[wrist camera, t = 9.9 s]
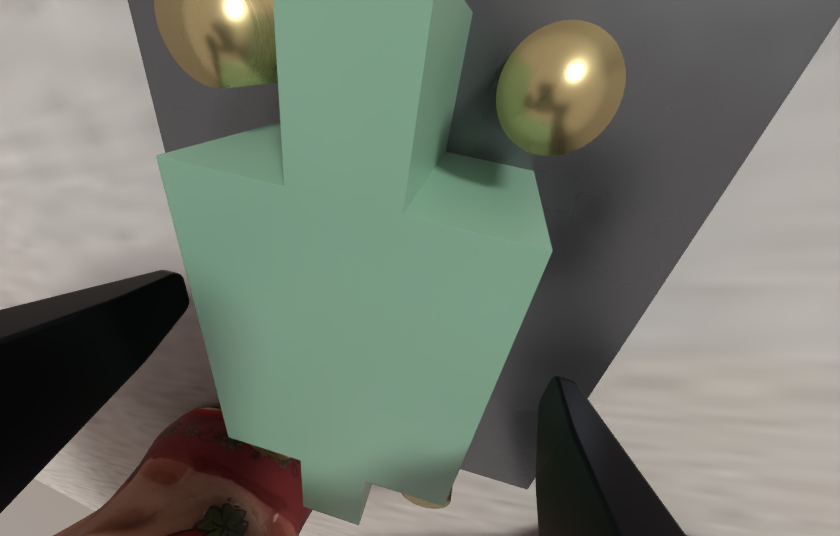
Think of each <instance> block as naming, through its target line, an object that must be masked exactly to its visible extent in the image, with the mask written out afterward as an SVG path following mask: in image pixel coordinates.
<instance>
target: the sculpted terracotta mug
mask: <svg viewBox="0 0 840 536" xmlns="http://www.w3.org/2000/svg"><path fill="white" fill-rule="evenodd" d="M311 512H312V509H309V508H306V507H303V492H302V475H301V460H298V459H295V458H292V457H290V458H289V459H286V460H277V459H273V458H270V457H267V456H265V455H263V454H261V453H260V452H258V451H257V450H255V449H254V448H253V447H252V446H251V445H250V444H248V443H245V442H242V441H239V440H236V439H233V438H230V437H228V433H227V429H226V425H225V421H224V418H223V414H222V410H221V409H218V408H211V407H204V408H198V409H195V410H192V411H190V412H188V413H186V414H185V415H183V416H182V417H180V418H179V419H178V420H176V421H175V422H174V423H172V424H171V425H170V426H169V427H167V428H166V429H165V430H164V431H163V432H162V433H161V434H160V435H159V436H158V437H157V438H156V440H155V441H154V443H153V444H152V446H151V447H150V449H149V450H148V452H147V453H146V455H145V457H144V458H143V460H142V461H141V463H140V464H139V466H138V467H137V468H136V469H135V471H134V472H133V473H132V474H131V475H130V477H129V478H128V479H127V480H126V481H125V483H124V484H123V485H122V486H121V487H120V488H119V490H118V491H117V492H116V493H115V494H114V495H113V497H112V498H111V499H110V500H109V501H108V502H107V503H106V504H104V505H103V506H102V507H101V508H100V509H98V510H97V511H95V512H94V513H92V514H90V515H89V516H87V517H85V518H84V519H82V520H80V521H78V522H77V523H75V524H73V525H72V526H70V527H68V528H66V529H64V530H63V531H61V532H59V533H57V534H56V535H53V536H299V533H300V531H301V529H302V527H303V525H304V524H305V522H306V520H307V518H308V517H309V515H310V513H311Z"/></svg>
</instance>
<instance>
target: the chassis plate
mask: <svg viewBox="0 0 840 536" xmlns="http://www.w3.org/2000/svg"><path fill="white" fill-rule="evenodd" d="M464 1H465V2H466V3H467V5H468V6H469V8H470V9H471V10H472V12H473V14H472V19H471V24H470V29H469V35H468V40H467V45H466V50H465V55H464V60H463V65H462V71H461V76H460V81H459V86H458V91H457V96H456V101H455V107H454V112H453V117H452V122H451V127H450V132H449V137H448V142H447V148H446V152H449V153H454V154H458V155H463V156H468V157H472V158H477V159H481V160H486V161H490V162H495V163H500V164H504V165H509V166H513V167H518V168H522V169H527V170H532V171H534V174H535V179H536V183H537V187H538V191H539V196H540V200H541V204H542V208H543V212H544V217H545V221H546V225H547V229H548V234H549V238H550V242H551V246H552V250H553V251H552V253H551V256H550V258H549V260H548V263H547V265H546V267H545V270H544V272H543V274H542V277H541V279H540V281H539V284H538V286H537V289H536V291H535V293H534V296H533V298H532V300H531V303H530V305H529V307H528V310H527V312H526V314H525V317H524V319H523V321H522V324H521V326H520V328H519V331H518V333H517V335H516V338H515V340H514V342H513V345H512V347H511V349H510V352H509V354H508V357H507V359H506V361H505V364H504V366H503V368H502V371H501V373H500V375H499V378H498V380H497V382H496V385H495V387H494V389H493V392H492V394H491V396H490V399H489V401H488V403H487V406H486V408H485V410H484V413H483V415H482V417H481V420H480V422H479V425H478V427H477V429H476V432H475V434H474V436H473V439H472V441H471V443H470V446H469V448H468V450H467V453H466V455H465V457H464V460H463V462H462V464H461V467H460V469H462V470H466V471H469V472H472V473H475V474H479V475H482V476H485V477H488V478H492V479H495V480H498V481H501V482H505V483H508V484H511V485H514V486H518V487H521V488H524V489H528V488H529V486H530V485H531V483H532V482H533V480H534V479H535V477H536V449H537V425H538V406H539V401H540V399H541V396H542V395H543V393H544V391H545V389H546V387H547V385H548V384H549V382H550V380H551V378H552V377H553V376H560V377H564V378H568V379H571V380H573V381H574V382H575V383H576V384H577V385H578V387H579V388H580V389H581V391H582V392H583V394H584V395H585V396H586V398H588V397H589V395H590V394H591V392H592V391H593V389H594V388H595V386H596V385H597V383H598V382H599V380H600V379H601V377H602V376H603V374H604V373H605V371H606V370H607V368H608V367H609V365H610V364H611V362H612V360H613V359H614V357H615V356H616V354H617V353H618V351H619V350H620V348H621V347H622V345H623V344H624V342H625V341H626V339H627V338H628V336H629V335H630V333H631V332H632V330H633V329H634V327H635V326H636V324H637V323H638V321H639V320H640V318H641V317H642V315H643V314H644V312H645V311H646V309H647V308H648V306H649V305H650V303H651V301H652V300H653V298H654V297H655V295H656V294H657V292H658V291H659V289H660V288H661V286H662V285H663V283H664V282H665V280H666V279H667V277H668V276H669V274H670V273H671V271H672V270H673V268H674V267H675V265H676V264H677V262H678V261H679V259H680V258H681V256H682V255H683V253H684V252H685V250H686V249H687V247H688V245H689V244H690V242H691V241H692V239H693V238H694V236H695V235H696V233H697V232H698V230H699V229H700V227H701V226H702V224H703V223H704V221H705V220H706V218H707V217H708V215H709V214H710V212H711V211H712V209H713V208H714V206H715V205H716V203H717V202H718V200H719V199H720V197H721V196H722V194H723V193H724V191H725V190H726V188H727V186H728V185H729V183H730V182H731V180H732V179H733V177H734V176H735V174H736V173H737V171H738V170H739V168H740V167H741V165H742V164H743V162H744V161H745V159H746V158H747V156H748V155H749V153H750V152H751V150H752V149H753V147H754V146H755V144H756V143H757V141H758V140H759V138H760V137H761V135H762V134H763V132H764V130H765V129H766V127H767V126H768V124H769V123H770V121H771V120H772V118H773V117H774V115H775V114H776V112H777V111H778V109H779V108H780V106H781V105H782V103H783V102H784V100H785V99H786V97H787V96H788V94H789V93H790V91H791V90H792V88H793V87H794V85H795V84H796V82H797V81H798V79H799V78H800V76H801V75H802V73H803V71H804V70H805V68H806V67H807V65H808V64H809V62H810V61H811V59H812V58H813V56H814V55H815V53H816V52H817V50H818V49H819V47H820V46H821V44H822V43H823V41H824V40H825V38H826V37H827V35H828V34H829V32H830V31H831V29H832V28H833V26H834V25H835V23H836V22H837V20H838V19H839V17H840V0H464ZM128 3H129V7H130V11H131V15H132V19H133V23H134V27H135V31H136V35H137V40H138V44H139V48H140V52H141V56H142V60H143V64H144V68H145V72H146V76H147V80H148V84H149V88H150V92H151V96H152V100H153V104H154V108H155V112H156V116H157V120H158V125H159V129H160V133H161V137H162V141H163V145H164V149H165V153H167V152H171V151H175V150H178V149H182V148H186V147H189V146H193V145H197V144H201V143H204V142H208V141H212V140H215V139H219V138H223V137H227V136H230V135H234V134H238V133H241V132H245V131H249V130H253V129H256V128H260V127H264V126H267V125H271V124H275V123H278V122H280V108H279V91H278V74H277V58H276V41H275V24H274V8H273V0H128ZM250 445H251V444H250ZM251 446H252V447H253V448H254V449H255V450H257V451H258V452H260V453H261V454H263V455H265V456H267V457H270V458H273V459H277V460H286V459H289V458H290V457H289V456H285V455H282V454H279V453H276V452H273V451H270V450H267V449H264V448H261V447H258V446H254V445H251ZM451 493H452V488H451V490H450V493H449V495H448V497H447V500H446V502H445V504H444V507H446V506H447V505H449V503H450V501H451ZM402 495H403V496H404V497H405V498H406V499H408V500H409V501H411V502H412V503H414V504H416V505H419V506H422V507H426V508H433V509H437V508H443V506H440V505H437V504H434V503H431V502H428V501H425V500H422V499H419V498H416V497H412V496H409V495H406V494H403V493H402Z"/></svg>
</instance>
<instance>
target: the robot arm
mask: <svg viewBox="0 0 840 536" xmlns="http://www.w3.org/2000/svg"><path fill="white" fill-rule="evenodd" d="M188 306H189V297H188V293H187V290H186V286H185V282H184V279H183V277H182V276H181V275H180V274H178V273H175V272H171V271H167V270H160V271H156V272H152V273H148V274H143V275H139V276H135V277H131V278H127V279H123V280H119V281H115V282H111V283H107V284H103V285H99V286H95V287H91V288H87V289H83V290H79V291H75V292H71V293H67V294H63V295H59V296H55V297H51V298H47V299H43V300H39V301H35V302H30V303H26V304H22V305H18V306H14V307H10V308H6V309H2V310H0V513H1V512H2V511H3V510H4V509H5V508H6V507H7V506H8V505H9V504H10V503H11V502H12V500H13V499H14V498H15V497H16V496H17V495H18V494H19V493H20V492H21V491H22V490H23V489H24V488H25V487H26V486H27V485H28V484H29V483H30V482H31V481H32V480H33V479H34V478H35V476H36V475H37V474H38V473H39V472H40V471H41V470H42V469H43V468H44V467H45V466H46V465H47V464H48V463H49V462H50V461H51V460H52V459H53V458H54V457H55V456H56V454H57V453H58V452H59V451H60V450H61V449H62V448H63V447H64V446H65V445H66V444H67V443H68V442H69V441H70V440H71V439H72V438H73V437H74V436H75V435H76V434H77V433H78V431H79V430H80V429H81V428H82V427H83V426H84V425H85V424H86V423H87V422H88V421H89V420H90V419H91V418H92V417H93V416H94V415H95V414H96V413H97V412H98V411H99V409H100V408H101V407H102V406H103V405H104V404H105V403H106V402H107V401H108V400H109V399H110V398H111V397H112V396H113V395H114V394H115V393H116V392H117V391H118V390H119V389H120V387H121V386H122V385H123V384H124V383H125V382H126V381H127V380H128V379H129V378H130V377H131V376H132V375H133V374H134V373H135V372H136V371H137V370H138V369H139V367H140V366H141V365H142V364H143V363H144V362H145V361H146V360H147V359H148V357H149V356H150V355H151V354H152V353H153V351H154V350H155V349H156V348H157V346H158V345H159V344H160V343H161V341H162V340H163V339H164V337H165V336H166V335H167V334H168V332H169V331H170V330H171V329H172V327H173V326H174V325H175V324H176V322H177V321H178V320H179V319H180V317H181V316H182V315H183V314H184V312H185V311H186V310H187V308H188ZM536 497H537V512H538V527H539V536H686V535H685V533H684V532H683V531H682V529H681V528H680V527H679V525H678V524H677V522H676V521H675V520H674V518H673V517H672V515H671V514H670V513H669V511H668V510H667V509H666V507H665V506H664V504H663V503H662V502H661V500H660V499H659V497H658V496H657V495H656V493H655V492H654V491H653V489H652V488H651V486H650V485H649V484H648V482H647V481H646V479H645V478H644V477H643V475H642V474H641V473H640V471H639V470H638V468H637V467H636V466H635V464H634V463H633V461H632V460H631V459H630V457H629V456H628V455H627V453H626V452H625V450H624V449H623V448H622V446H621V445H620V443H619V442H618V441H617V439H616V438H615V437H614V435H613V434H612V432H611V431H610V430H609V428H608V427H607V425H606V424H605V423H604V421H603V420H602V419H601V417H600V416H599V414H598V413H597V412H596V410H595V409H594V407H593V406H592V405H591V403H590V402H589V401H588V399H587V398H586V396H585V395H584V394H583V392H582V391H581V389H580V388H579V387H578V385H577V384H576V383H575V382H574V381H573V380H571V379H568V378H564V377H560V376H553V377H552V378H551V380H550V382H549V384H548V385H547V387H546V389H545V391H544V393H543V395H542V396H541V399H540V401H539V406H538V425H537V449H536Z"/></svg>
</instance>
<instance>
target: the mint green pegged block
mask: <svg viewBox="0 0 840 536" xmlns="http://www.w3.org/2000/svg"><path fill="white" fill-rule="evenodd" d="M273 8H274V24H275V41H276V58H277V74H278V91H279V108H280V122H278V123H275V124H271V125H267V126H264V127H260V128H256V129H253V130H249V131H245V132H241V133H238V134H234V135H230V136H227V137H223V138H219V139H215V140H212V141H208V142H204V143H201V144H197V145H193V146H189V147H186V148H182V149H178V150H175V151H171V152H167V153H163V154H160V155H156V158H157V161H158V165H159V169H160V173H161V177H162V181H163V185H164V189H165V193H166V196H167V200H168V204H169V208H170V212H171V216H172V220H173V224H174V227H175V231H176V235H177V239H178V243H179V247H180V251H181V255H182V258H183V262H184V266H185V270H186V274H187V278H188V282H189V286H190V290H191V293H192V297H193V301H194V305H195V309H196V313H197V317H198V321H199V324H200V328H201V332H202V336H203V340H204V344H205V348H206V352H207V356H208V359H209V363H210V367H211V371H212V375H213V379H214V383H215V387H216V390H217V394H218V398H219V402H220V406H221V410H222V414H223V418H224V421H225V425H226V429H227V433H228V437H230V438H233V439H236V440H239V441H242V442H245V443H248V444H251V445H254V446H258V447H261V448H264V449H267V450H270V451H273V452H276V453H279V454H282V455H285V456H289V457H292V458H295V459H298V460H301V475H302V492H303V507H306V508H309V509H312V510H315V511H318V512H321V513H324V514H327V515H330V516H333V517H336V518H339V519H342V520H345V521H348V522H351V523H354V524H357V525H359V523H360V520H361V517H362V514H363V511H364V507H365V504H366V501H367V498H368V495H369V492H370V489H371V486H372V484H375V485H378V486H381V487H385V488H388V489H391V490H394V491H397V492H400V493H403V494H406V495H409V496H412V497H416V498H419V499H422V500H425V501H428V502H431V503H434V504H437V505H440V506H443V507H444V504H445V502H446V500H447V497H448V495H449V493H450V490H451V488H452V485H453V483H454V481H455V478H456V476H457V474H458V471H459V469H460V467H461V464H462V462H463V460H464V457H465V455H466V453H467V450H468V448H469V446H470V443H471V441H472V439H473V436H474V434H475V432H476V429H477V427H478V425H479V422H480V420H481V417H482V415H483V413H484V410H485V408H486V406H487V403H488V401H489V399H490V396H491V394H492V392H493V389H494V387H495V385H496V382H497V380H498V378H499V375H500V373H501V371H502V368H503V366H504V364H505V361H506V359H507V357H508V354H509V352H510V349H511V347H512V345H513V342H514V340H515V338H516V335H517V333H518V331H519V328H520V326H521V324H522V321H523V319H524V317H525V314H526V312H527V310H528V307H529V305H530V303H531V300H532V298H533V296H534V293H535V291H536V289H537V286H538V284H539V281H540V279H541V277H542V274H543V272H544V270H545V267H546V265H547V263H548V260H549V258H550V256H551V253H552V251H553V250H552V246H551V242H550V238H549V234H548V229H547V225H546V221H545V217H544V212H543V208H542V204H541V200H540V196H539V191H538V187H537V183H536V179H535V174H534V171H532V170H527V169H522V168H518V167H513V166H509V165H504V164H500V163H495V162H490V161H486V160H481V159H477V158H472V157H468V156H463V155H458V154H454V153H449V152H446V148H447V142H448V137H449V132H450V127H451V122H452V117H453V112H454V107H455V101H456V96H457V91H458V86H459V81H460V76H461V71H462V65H463V60H464V55H465V50H466V45H467V40H468V35H469V29H470V24H471V19H472V14H473V12H472V10H471V9H470V8H469V6H468V5H467V3H466V2H465V1H464V0H273Z"/></svg>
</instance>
